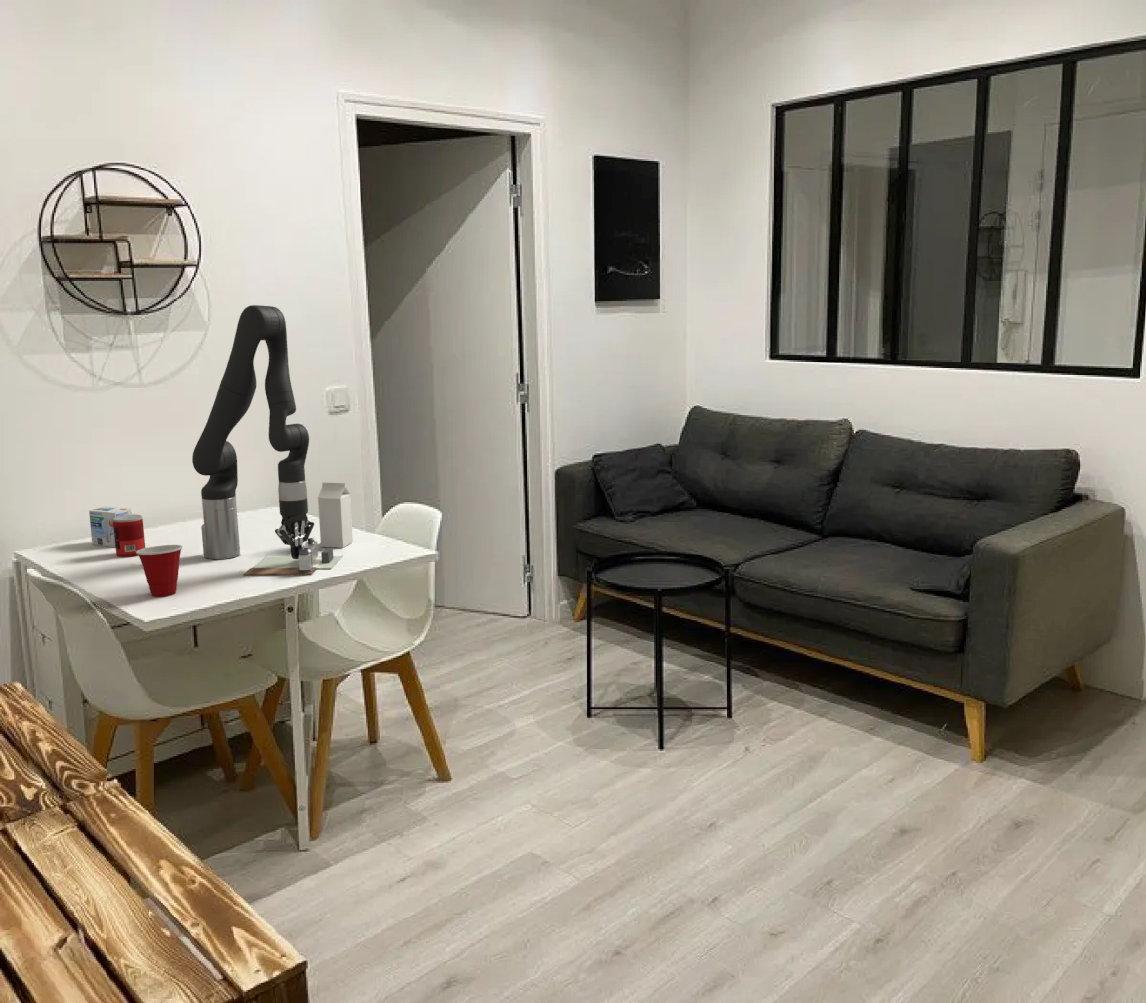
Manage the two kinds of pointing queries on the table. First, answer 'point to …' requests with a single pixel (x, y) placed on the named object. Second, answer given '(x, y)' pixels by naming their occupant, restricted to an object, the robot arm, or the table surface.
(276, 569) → the strip
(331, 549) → the block
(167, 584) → the plastic cup
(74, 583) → the table surface
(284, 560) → the door panel
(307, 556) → the lock bar
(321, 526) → the milk carton
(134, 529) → the canned food
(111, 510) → the light bulb box
